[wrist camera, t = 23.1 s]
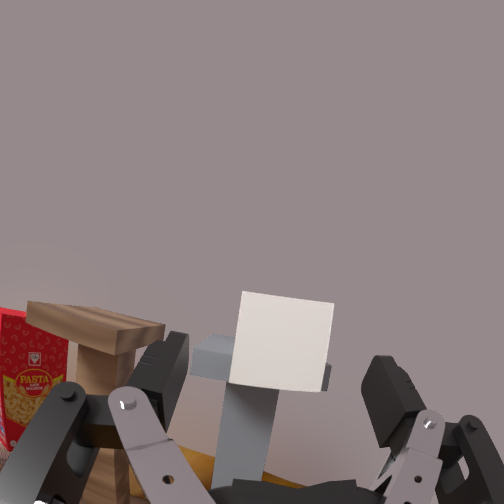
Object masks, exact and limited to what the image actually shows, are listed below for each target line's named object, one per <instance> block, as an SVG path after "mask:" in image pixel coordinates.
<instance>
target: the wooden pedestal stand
mask: <svg viewBox="0 0 504 504" xmlns="http://www.w3.org/2000/svg"><path fill="white" fill-rule="evenodd" d="M26 323H28V324H30V325H33V326H35V327H37V328H40V329H42V330H44V331H47V332H49V333H52V334H54V335H57V336H59V337H62V338H65V339H67V340H70V341H73V342H76V343H78V357H77V372H76V383H77V384H79V385H81V386H82V387H83V389H84V390H85V393H86V394H91V395H110V394H111V392H112V391H114V390H115V389H117V388H120V387H124V386H125V385H126V383H127V381H128V380H129V378H130V376H131V374H132V373H133V371H134V362H135V353H136V349H138V348H141V347H144V346H147V345H150V344H152V343H153V342H154V341H156V340H161V341H163V339H164V331H165V324H161V323H156V322H152V321H147V320H142V319H139V318H134V317H130V316H126V315H122V314H118V313H114V312H111V311H107V310H103V309H99V308H93V307H81V306H71V305H60V304H50V303H41V302H32V301H28V304H27V313H26ZM79 504H148V502H147V500H143V499H140V498H137V497H134V496H131V495H130V488H129V462H128V459H127V457H126V455H125V452H124V450H123V449H108V448H100V450H99V452H98V455H97V457H96V460H95V462H94V465H93V468H92V470H91V473H90V475H89V478H88V481H87V483H86V486H85V489H84V491H83V494H82V497H81V500H80V503H79Z"/></svg>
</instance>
